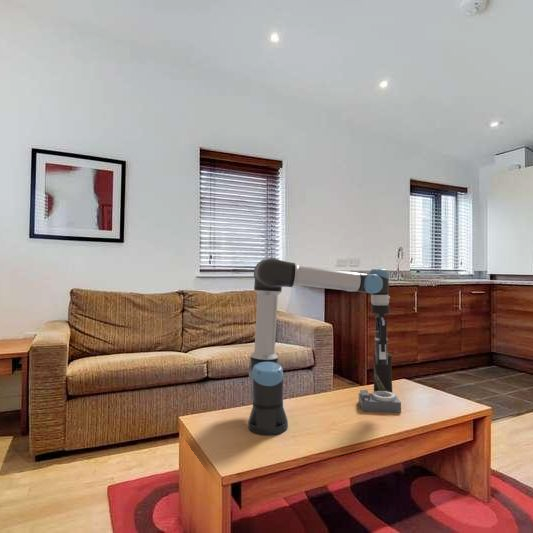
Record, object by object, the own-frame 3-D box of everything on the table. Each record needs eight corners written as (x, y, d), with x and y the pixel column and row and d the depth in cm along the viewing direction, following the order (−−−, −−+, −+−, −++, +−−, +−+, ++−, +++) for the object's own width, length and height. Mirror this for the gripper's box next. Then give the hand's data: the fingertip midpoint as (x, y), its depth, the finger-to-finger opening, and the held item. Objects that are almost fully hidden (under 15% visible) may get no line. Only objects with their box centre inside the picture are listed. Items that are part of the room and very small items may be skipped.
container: (370, 392, 184) (370, 351, 184) (388, 391, 185) (387, 350, 185) (377, 397, 175) (377, 355, 176) (396, 397, 176) (395, 354, 176)
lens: (376, 365, 161) (375, 332, 161) (374, 362, 166) (373, 330, 166) (389, 365, 160) (388, 332, 161) (386, 362, 166) (385, 330, 166)
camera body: (362, 410, 159) (362, 396, 159) (358, 401, 170) (358, 388, 170) (401, 412, 157) (400, 397, 157) (395, 403, 168) (394, 389, 168)
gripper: (393, 306, 154) (395, 362, 154) (384, 302, 172) (386, 353, 172) (374, 306, 155) (376, 362, 155) (368, 302, 173) (369, 353, 173)
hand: (381, 357), depth 163 cm, fingers closed on lens, 5 cm apart
